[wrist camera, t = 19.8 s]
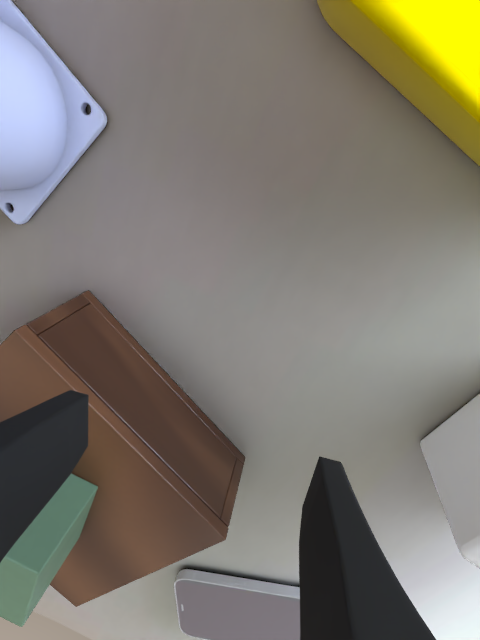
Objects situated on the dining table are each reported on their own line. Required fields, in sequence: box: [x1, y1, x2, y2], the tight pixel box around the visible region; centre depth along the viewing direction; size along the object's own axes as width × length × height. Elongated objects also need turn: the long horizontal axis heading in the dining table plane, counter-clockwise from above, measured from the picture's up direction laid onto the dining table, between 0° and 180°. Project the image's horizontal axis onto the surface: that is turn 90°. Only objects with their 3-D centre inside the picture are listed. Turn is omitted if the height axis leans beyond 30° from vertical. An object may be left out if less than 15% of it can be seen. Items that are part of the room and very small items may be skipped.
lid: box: [0, 325, 228, 607], centre depth 21 cm, size 13×14×1 cm
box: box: [26, 290, 245, 527], centre depth 23 cm, size 12×14×5 cm
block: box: [0, 473, 98, 627], centre depth 18 cm, size 5×5×5 cm
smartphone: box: [174, 569, 300, 640], centre depth 29 cm, size 7×1×15 cm
